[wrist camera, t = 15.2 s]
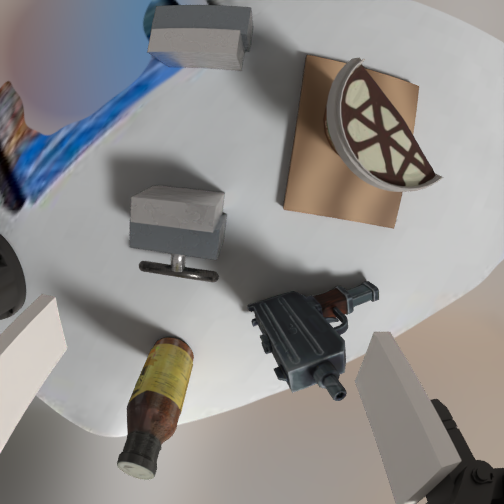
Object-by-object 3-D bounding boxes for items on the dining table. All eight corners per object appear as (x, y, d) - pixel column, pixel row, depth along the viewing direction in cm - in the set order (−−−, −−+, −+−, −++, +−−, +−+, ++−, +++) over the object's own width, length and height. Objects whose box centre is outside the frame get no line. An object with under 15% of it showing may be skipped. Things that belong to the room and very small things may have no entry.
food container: (286, 109, 29) (296, 96, 20) (331, 76, 28) (359, 52, 18) (357, 201, 32) (392, 227, 23) (398, 168, 31) (445, 183, 21)
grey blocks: (147, 260, 37) (126, 285, 30) (171, 24, 27) (152, 2, 20) (221, 271, 37) (213, 300, 30) (254, 28, 27) (252, 3, 20)
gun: (441, 354, 24) (297, 423, 22) (357, 287, 40) (250, 324, 38) (445, 332, 23) (293, 403, 21) (356, 269, 39) (245, 305, 37)
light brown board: (283, 207, 34) (283, 209, 33) (305, 57, 28) (307, 54, 27) (390, 225, 34) (393, 228, 33) (414, 87, 28) (419, 86, 27)
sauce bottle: (151, 331, 41) (96, 445, 22) (195, 338, 41) (159, 461, 22) (155, 366, 43) (112, 475, 24) (196, 372, 43) (167, 489, 24)
